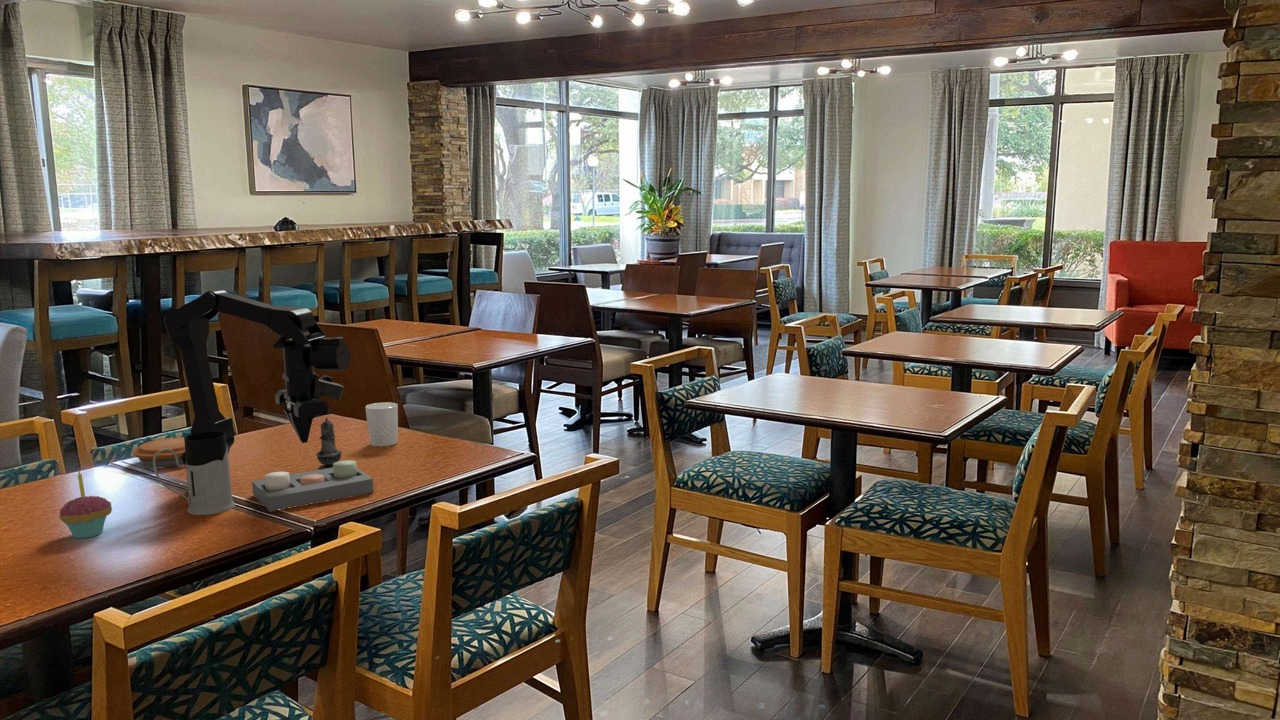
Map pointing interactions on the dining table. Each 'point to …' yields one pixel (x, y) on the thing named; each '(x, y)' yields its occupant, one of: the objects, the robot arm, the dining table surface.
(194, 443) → the grey handled cylinder
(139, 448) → the pie
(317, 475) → the terracotta button
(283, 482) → the cream button
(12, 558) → the dining table surface
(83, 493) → the cupcake
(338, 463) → the sage button
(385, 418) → the white cup
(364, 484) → the console
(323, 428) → the grey chess piece
